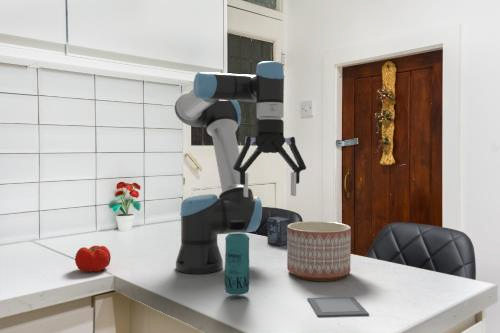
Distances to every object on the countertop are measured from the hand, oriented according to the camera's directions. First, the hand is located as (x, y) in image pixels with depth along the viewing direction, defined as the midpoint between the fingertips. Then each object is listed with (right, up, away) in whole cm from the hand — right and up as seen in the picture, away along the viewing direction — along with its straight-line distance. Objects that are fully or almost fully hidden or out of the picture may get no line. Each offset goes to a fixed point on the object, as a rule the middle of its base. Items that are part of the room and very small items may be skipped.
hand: (269, 196), depth 124 cm
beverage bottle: (-9, -26, -8) cm, 28 cm away
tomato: (-55, -25, +18) cm, 63 cm away
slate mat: (+15, -26, -15) cm, 34 cm away
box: (+6, -24, +57) cm, 62 cm away
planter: (+16, -25, +14) cm, 33 cm away
